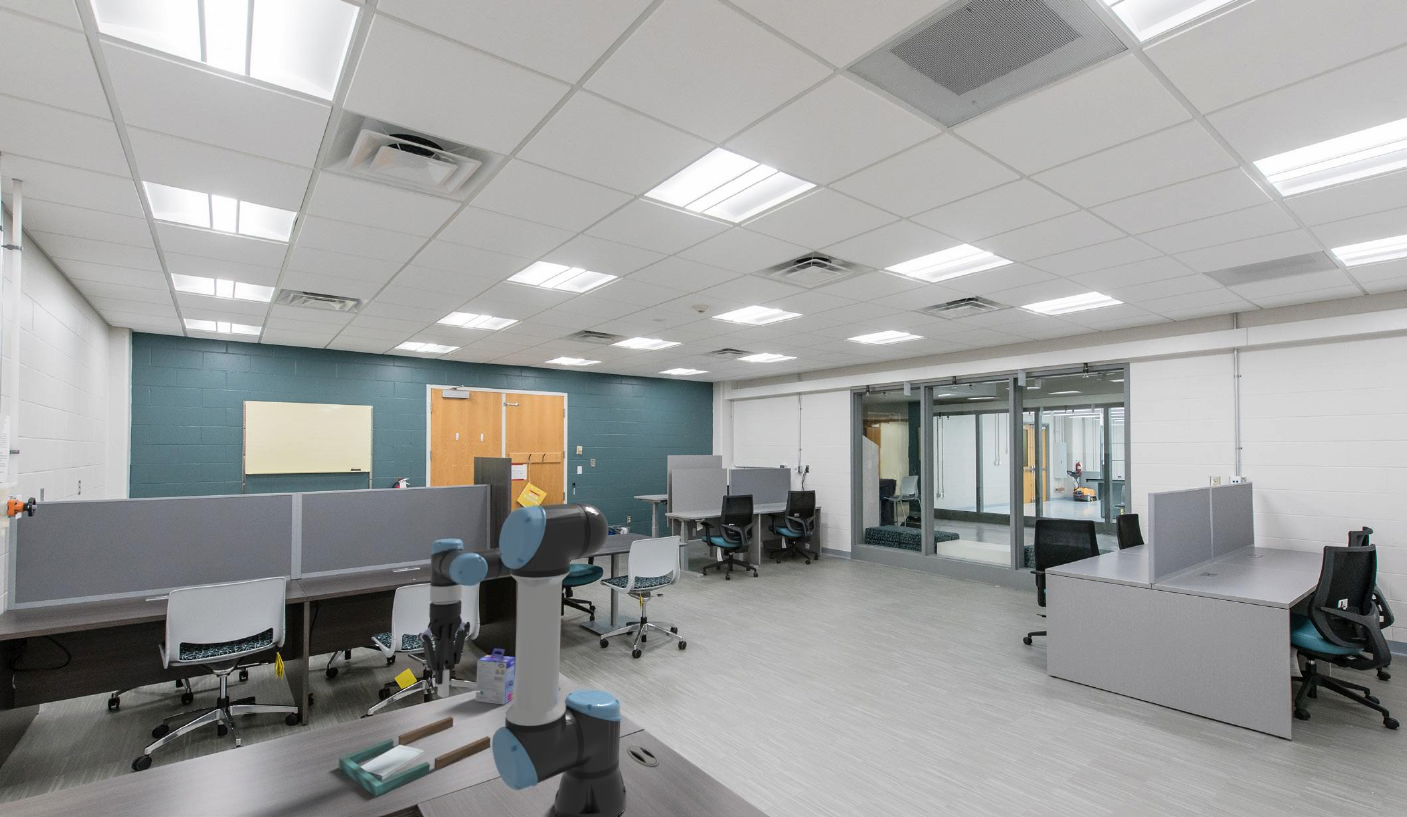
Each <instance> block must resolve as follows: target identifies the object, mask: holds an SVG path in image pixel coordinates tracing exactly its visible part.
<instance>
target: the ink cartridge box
mask: <svg viewBox="0 0 1407 817" xmlns="http://www.w3.org/2000/svg"><path fill="white" fill-rule="evenodd" d="M495 652H496V653H495ZM497 652H499V653H500V654H499V653H497ZM504 654H505V649H503V648H493V650H492V653H491V654H490V655H489V654H486V655H484V656H482V657H481V658H479V659H478V660H477V662H476V663H477V664H476V665H477V666H476V683H475V684H476V686H475V702H478V703H487V704H489V703H490V704H496V705H497V704H498V705H506V704H507V703H509V702H510V701H511V700H514V689H515V659H516V656H515V657H514V656H504ZM476 691H480V692H476Z"/></svg>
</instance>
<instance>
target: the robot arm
mask: <svg viewBox="0 0 1407 817" xmlns="http://www.w3.org/2000/svg"><path fill="white" fill-rule="evenodd" d="M608 536H609V523H608V520H607V518H606V517H605V515H604V513H603V512H602V511H600V509H598V508H597V507H596V506H594V505H591V504H589V503H584V502H572V503H560V504H559V503H557V504H540V505H537V504H536V505H530V506H523V507H519V508H516V509H514V510H512V511H511V512H510V514H509V515H508V516H507V517H506V518H505V520H504V522H503V524H502V527H501V530H500V534H499V542H498V544H499V545H498V547H496V548H495V547H494V548H488V549H478V550H477V549H476V550H470V551H469V550H467V551H466V550H465V548H464V542H463V540H462V539H459V538H441V539H437V540H434V541H433V542H432V544H431V552H430V582H429V583H430V588H429V589H430V590H429V601H430V603H429V612H428V613H429V615H428V616H429V623H428V625H427V629H426V630H424V631H423V632H419V634H418V638H419V640H420V642H422V647H423V652H424V658H425V662H426V666H427V669H428V670H431V671H433V672H434V674H435V675H434V683H435V684H437V696H438V697H440V698H443V699H444V698H447V697H450V682H451V681H452V679H453V670H454V669H455V668H456V665H458V664H460V663H461V659H462V655H463V650H464V645H465V641H466V637H467V633H468V631H469V630H470V627H471V624H470V623H467V622H464V621H463V619H462V617H461V614H462V601H461V599H462V597H463V586H467V587H473V586H476V585H479V583H481V582H483V581H488V580H493V579H499V578H507V577H508V578H509V577H512V578H513V579H514V580H515V581H516V582H517V599H516V600H517V602H516V604H517V605H516V629H515V631H516V633H515V635H516V636H515V670H514V698H513V703H512V704H511V705H510V706H509V707H508V708H507V710H506V711H505V722H504V723H505V724H504V726H502V727H501V726H500V727H499V728H498V729H497V730H495V731H494V734H493V736H492V742H491V743H492V744H491V747H492V748H491V749H492V755H493V760H494V764H495V766H496V770H497V772H498V774H499V776H500V778H501V780H502V781H503V782H504V784H505V785H506V786H507V787H508V788H510V789H512V790H514V791H521V790H524V789H526V788H529V787H535V786H538V784H539V783H541V782H544V781H546V780H549V779H552V778H553V777H556V776H558V775H560V774H562V775H561V778H560V782H559V786H558V789H557V791H556V793H555V796H554V814H556V815H557V816H556V815H555V816H556V817H617V816H618V815H620V814H621V813H622V811H623V810H624V809H625V810H626V808H627V796H628V795H627V789H626V786H625V783H624V778H623V775H622V772H621V768H620V743H621V742H620V736H621V735H620V733H621V720H622V716H621V704H620V701H619V699H618V698H617V697H616V696H615V695H614V694H612V693H610V692H607V691H603V690H599V689H580V690H574V691H571V692H570V693H568V694H567V695H566V697H565V700H564V703H563V702H562V701H561V699H559V693H560V692H559V691H560V690H559V688H560V659H561V657H560V655H561V654H560V652H561V627H562V624H561V622H562V621H561V620H562V596H563V595H562V592H563V590H562V589H563V587H562V586H563V585H562V584H563V580H564V579H565V578H566V577H567V576H568V575H569V574H570V572H571V561H572V560H578V559H583V558H586V557H587V558H588V557H590V556H592V555H594V554H596V553H597V552H599V551H600V550H601V549H602V548H603V547H604V545H605V544H606V542H607V539H608ZM432 637H433V639H434V640H433V641H434V646H433V641H432V640H431V639H432ZM625 807H626V808H625ZM625 810H624V811H625ZM622 814H623V813H622ZM622 814H621V815H622ZM621 815H620V816H621Z"/></svg>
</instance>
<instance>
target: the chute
mask: <svg viewBox="0 0 1407 817" xmlns="http://www.w3.org/2000/svg"><path fill="white" fill-rule="evenodd" d="M452 727H454V717H452V716H449V717H448V716H447V717H446V718H443V719H440V720H437V721H435V722H433V723H429V724H427V725H424V726H421V727H419V728H416V729H414V730H410V731H408V732H405V733H402V734H400V735H398V744H397V746H398V745H403V746H407V745H408V744H412V743H413V742H416V741H418V740H421V739H424V738H426V737H430V736H432V735H435V734H437V733H439V732H442V731H444V730H447V729H450V728H452ZM488 747H489V748H490V747H491V737H490V736H485V737H482V738H480V739H477V740H475V741H473V742H469V743H467V744H465V745H463V746H461V747H458V748H456V749H454V750H452V751H449V752H447V753H444V754H442V755H440V756H437V757H434V763H433V765H434V766H433V767H434V769H435V770H437V771H438V770H440V769H443V768H446V767H447V766H450V765H452V764H454V763H457V762H459V761H462V760H463V759H465V758H468V757H470V756H473V755H475V754H477V753H480V752H481V751H484V750H486V749H489V748H488ZM393 748H394V740H393V739H392V738H390V739H386V740H383V741H381V742H379V743H376V744H373V745H370V746H368V747H364V748H363V749H359V750H358V751H355V752H352V753H349V754H346V755H343V756H341V757H339V758H338V768H339V770H341V771H342V772H343V773H345V774H346V775H348V776H349V777H350V779H352V780H354V781H355V782H356V783H357V784H358V785H360V786H361V787H363V788H364V789H365V790H366V791H367V792H369V793H370V794H371V795H372V796H374V797H375V798H377V797H380V796H382V795H384V794H387V793H388V792H391V791H392V790H395V789H397V788H400V787H401V786H404V785H408V784H409V783H411V782H414V781H416V780H418V779H420V778H423V777H425V776H427V775H429V774H430V763H429V762H428V761H425V762H424V763H421V764H418V765H416V766H414V767H410V768H409V769H407V770H404V771H402V772H399V773H397V774H395V775H393V776H389V777H386V778H385V779H383V780H379V779H376V778H375V777H373V776H372V775H371V774H369V773H368V772H367V771H365V770H364V769H363V768H361V766H360V765H359V763H362V762H365V761H367V760H370V759H372V758H374V757H375V758H376V757H378V756H380V755H382V754H384V753H385V752H387V751H389V750H391V749H393ZM479 751H480V752H479Z"/></svg>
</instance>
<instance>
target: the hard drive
mask: <svg viewBox="0 0 1407 817" xmlns="http://www.w3.org/2000/svg"><path fill="white" fill-rule="evenodd" d="M424 754H425V751H424V750H423V749H420V748H416V747H412V746H407V745H404V746H403V745H398V744H397V745H396V746H395V747H394V746H393V749H391V750H389V751H387V752H385V753H383V754H381V755H378V756H376V757H375V758H374V759H371V760H369V761H368V762H366V763H365V764H363V765H361V766H360V767H361V768H363V769H364V770H365V771H367V772H368V773H369V774H371V775H372V776H373V777H375V778H376V779H377V780H379V781H382V780H385V779H387V778H389V777H391V775H393V774H395V773H396V772H398V771H400V770H401V769H403V768H404V767H405V766H407V765H409V764H410V763H412V762H413V761H415V760H417V759H419V758H420V757H422V756H424Z"/></svg>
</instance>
